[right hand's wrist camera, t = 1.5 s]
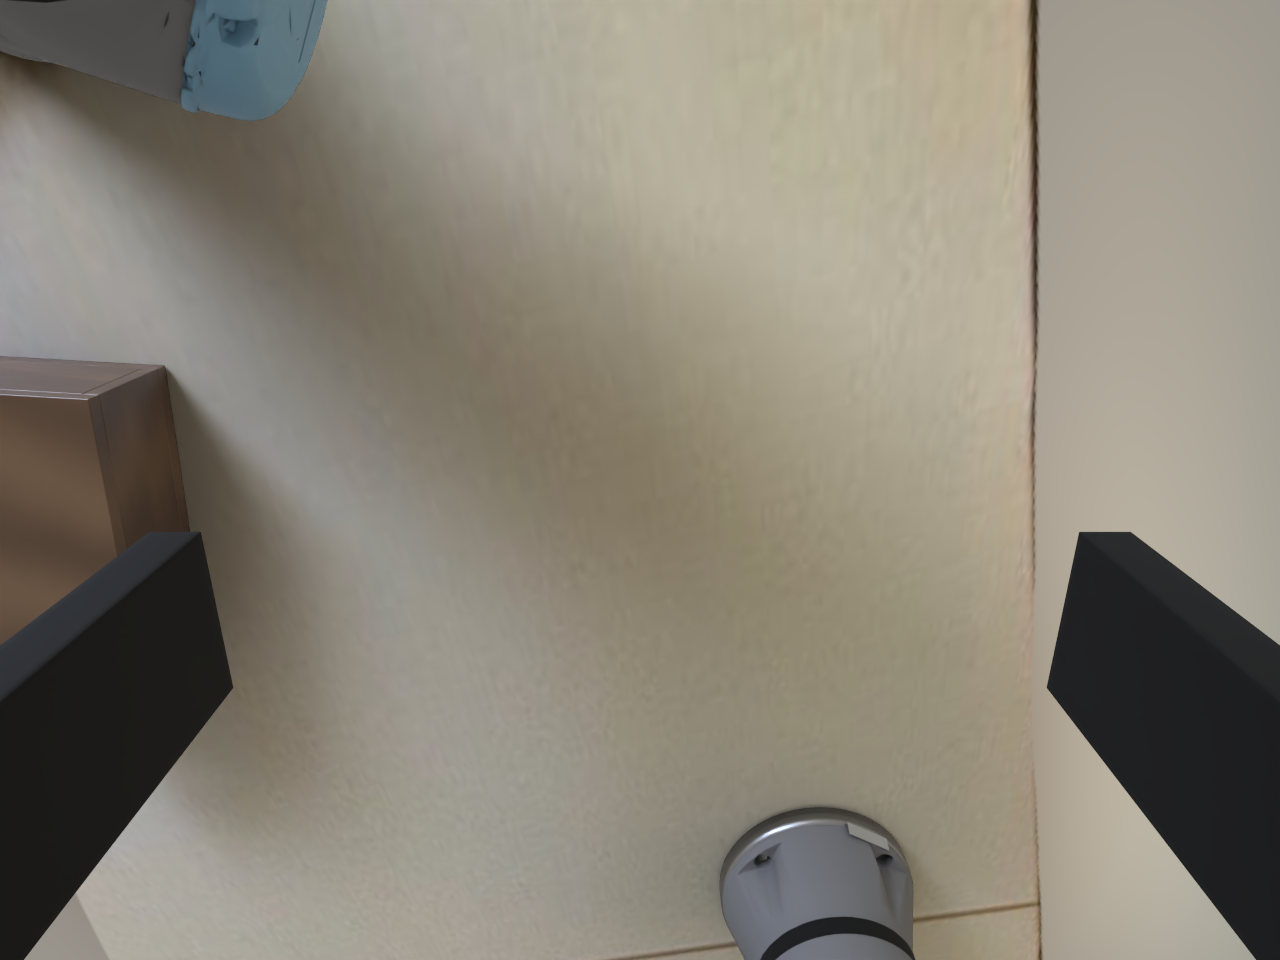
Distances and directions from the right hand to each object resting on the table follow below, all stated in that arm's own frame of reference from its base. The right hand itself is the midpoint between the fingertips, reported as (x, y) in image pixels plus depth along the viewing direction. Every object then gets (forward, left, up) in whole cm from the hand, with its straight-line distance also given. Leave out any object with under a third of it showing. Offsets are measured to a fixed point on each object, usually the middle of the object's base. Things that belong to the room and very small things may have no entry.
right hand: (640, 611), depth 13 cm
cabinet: (-15, +36, -41) cm, 56 cm away
